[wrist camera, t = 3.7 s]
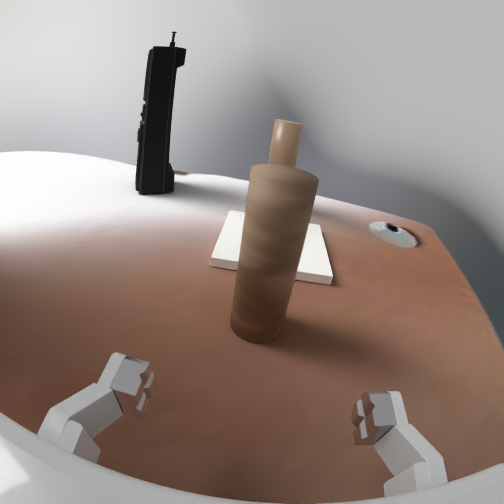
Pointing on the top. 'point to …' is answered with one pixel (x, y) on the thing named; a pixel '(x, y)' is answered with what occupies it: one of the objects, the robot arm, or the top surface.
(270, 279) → the walnut pin
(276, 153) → the tan wooden dowel
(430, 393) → the top surface
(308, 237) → the plate
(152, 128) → the portable radio
